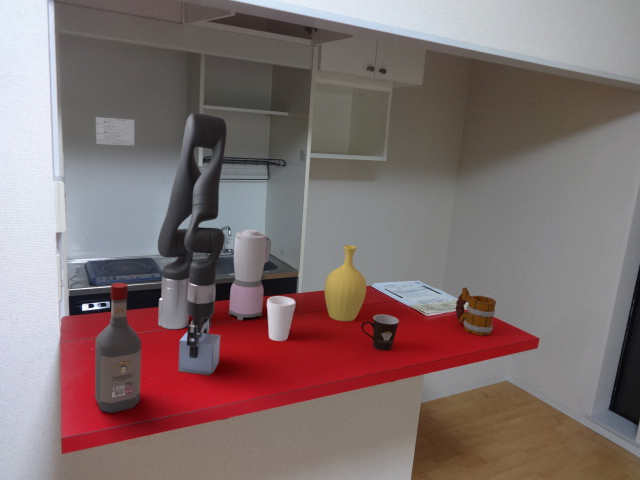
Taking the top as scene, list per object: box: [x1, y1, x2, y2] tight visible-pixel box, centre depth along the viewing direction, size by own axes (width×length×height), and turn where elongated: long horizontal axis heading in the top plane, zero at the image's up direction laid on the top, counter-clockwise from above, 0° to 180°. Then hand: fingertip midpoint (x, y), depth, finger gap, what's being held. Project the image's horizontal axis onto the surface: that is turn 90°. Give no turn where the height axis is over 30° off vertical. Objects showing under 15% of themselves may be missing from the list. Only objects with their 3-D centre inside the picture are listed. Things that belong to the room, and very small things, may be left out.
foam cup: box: [266, 295, 296, 342], centre depth 168 cm, size 10×9×13 cm
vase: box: [324, 244, 367, 322], centre depth 192 cm, size 16×16×28 cm
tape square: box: [177, 368, 211, 376], centre depth 144 cm, size 9×9×1 cm
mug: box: [455, 287, 497, 336], centre depth 194 cm, size 11×16×15 cm, turn 41°
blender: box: [228, 228, 272, 321], centre depth 184 cm, size 16×12×32 cm
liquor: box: [94, 282, 142, 414], centre depth 119 cm, size 9×9×30 cm
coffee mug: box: [361, 314, 400, 352], centre depth 170 cm, size 12×9×10 cm
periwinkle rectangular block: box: [178, 330, 221, 375], centre depth 143 cm, size 10×7×9 cm
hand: (198, 350), depth 143 cm, fingers open, 8 cm apart
